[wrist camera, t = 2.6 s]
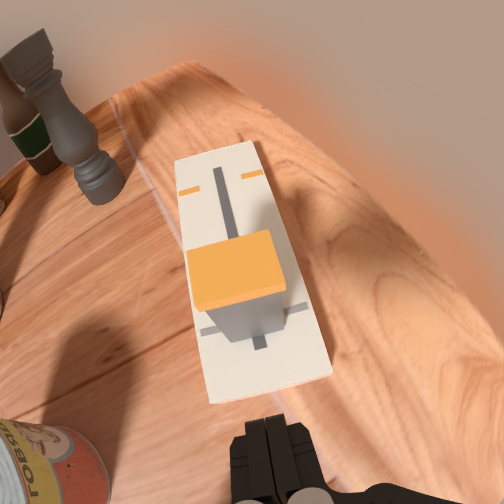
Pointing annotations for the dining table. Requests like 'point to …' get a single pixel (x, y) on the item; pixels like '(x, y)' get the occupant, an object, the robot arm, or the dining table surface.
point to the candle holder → (63, 119)
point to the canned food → (49, 466)
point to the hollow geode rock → (1, 204)
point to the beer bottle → (26, 126)
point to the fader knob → (239, 285)
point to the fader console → (295, 296)
